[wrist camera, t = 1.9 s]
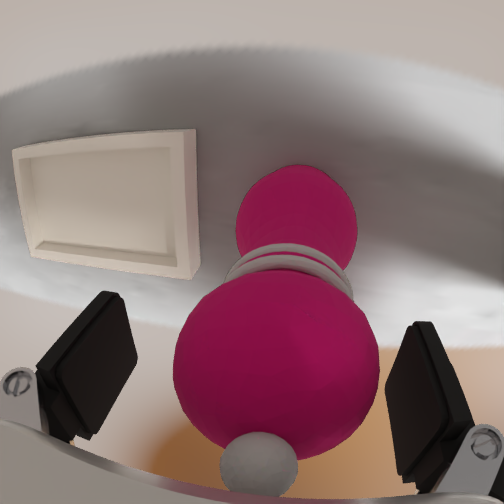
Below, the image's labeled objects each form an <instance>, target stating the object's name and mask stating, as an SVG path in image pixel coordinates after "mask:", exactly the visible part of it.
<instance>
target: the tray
mask: <svg viewBox="0 0 504 504" xmlns="http://www.w3.org/2000/svg"><path fill="white" fill-rule="evenodd" d="M12 159H13V167H14V175H15V182H16V188H17V194H18V200H19V206H20V211H21V216H22V221H23V226H24V230H25V235H26V239H27V243H28V247H29V251H30V255H31V257H35V258H41V259H47V260H53V261H59V262H65V263H72V264H78V265H85V266H91V267H98V268H105V269H111V270H118V271H125V272H132V273H140V274H147V275H155V276H162V277H170V278H178V279H186V280H191V279H192V278H193V276H194V275H195V273H196V272H197V270H198V269H199V267H200V266H201V260H200V242H199V221H198V194H197V155H196V129H176V130H153V131H137V132H124V133H112V134H102V135H93V136H84V137H76V138H68V139H61V140H54V141H48V142H42V143H36V144H30V145H26V146H23V147H19V148H16V149H13V150H12Z"/></svg>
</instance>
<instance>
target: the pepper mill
mask: <svg viewBox="0 0 504 504" xmlns="http://www.w3.org/2000/svg"><path fill="white" fill-rule="evenodd" d="M236 239H237V245H238V249H239V252H240V254H241V257H242V258H240V259H239V260H238V261H237V262H236V263H235V264H234V265H233V267H232V268H231V269H230V271H229V272H228V274H227V276H226V278H225V281H224V283H223V284H222V285H221V286H219V287H218V288H216V289H215V290H213V291H212V292H210V293H209V294H207V295H206V296H204V297H203V298H202V299H201V301H200V302H199V303H198V304H197V306H196V307H195V308H194V309H193V311H192V312H191V313H190V314H189V316H188V318H187V320H186V322H185V324H184V326H183V328H182V330H181V332H180V334H179V337H178V340H177V343H176V348H175V354H174V362H173V381H174V388H175V390H176V393H177V396H178V399H179V401H180V404H181V407H182V409H183V411H184V413H185V414H186V416H187V417H188V418H189V420H190V421H191V423H192V424H193V425H194V426H195V427H196V428H197V429H198V430H199V431H200V432H201V433H202V434H203V435H204V436H206V437H207V438H208V439H209V440H210V441H212V442H213V443H215V444H217V445H219V446H221V447H222V448H224V449H225V451H224V452H223V454H222V456H221V459H220V473H221V477H222V480H223V481H224V484H225V486H226V487H227V488H228V489H229V490H230V491H233V492H240V493H247V494H255V495H264V496H274V497H279V496H280V495H282V494H284V493H285V492H286V491H287V490H288V489H289V487H290V486H291V485H292V484H293V483H294V481H295V479H296V476H297V473H298V463H297V460H302V459H307V458H310V457H313V456H316V455H319V454H322V453H324V452H326V451H328V450H330V449H332V448H334V447H336V446H337V445H338V444H340V443H341V442H343V441H344V440H346V439H347V438H349V437H350V436H351V435H352V434H353V433H354V431H355V430H356V429H357V428H358V427H359V426H360V425H361V424H362V422H363V421H364V419H365V417H366V415H367V414H368V412H369V410H370V408H371V406H372V404H373V402H374V399H375V396H376V392H377V389H378V381H379V373H380V367H379V351H378V345H377V342H376V339H375V336H374V334H373V331H372V329H371V327H370V325H369V322H368V320H367V318H366V316H365V314H364V313H363V311H362V310H361V309H360V308H359V307H358V306H357V305H356V304H355V303H354V301H353V293H352V289H351V285H350V283H349V281H348V279H347V277H346V275H345V274H344V272H343V270H344V269H345V268H346V267H347V265H348V263H349V261H350V260H351V257H352V255H353V252H354V249H355V245H356V241H357V222H356V215H355V211H354V208H353V205H352V203H351V201H350V199H349V197H348V196H347V194H346V193H345V191H344V190H343V189H342V188H341V187H340V186H339V185H338V184H337V183H336V182H335V181H334V180H332V179H331V178H330V177H329V176H328V175H327V174H325V173H324V172H322V171H320V170H318V169H316V168H314V167H311V166H306V165H291V166H287V167H284V168H281V169H279V170H277V171H275V172H273V173H271V174H269V175H267V176H265V177H264V178H262V179H260V180H259V181H258V182H257V183H256V184H255V185H254V186H252V188H251V189H250V190H249V191H248V193H247V194H246V196H245V198H244V200H243V202H242V204H241V206H240V209H239V212H238V215H237V220H236Z"/></svg>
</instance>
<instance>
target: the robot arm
mask: <svg viewBox="0 0 504 504" xmlns="http://www.w3.org/2000/svg"><path fill="white" fill-rule="evenodd" d="M137 359H138V356H137V352H136V348H135V344H134V340H133V337H132V333H131V329H130V324H129V320H128V316H127V312H126V307H125V303H124V300H123V298H120V295H119V294H118V293H115V292H109V291H101V292H100V293H99V294H98V295H97V296H96V297H95V298H94V300H93V301H92V302H91V303H90V304H89V305H88V306H87V307H86V308H85V309H84V310H83V312H82V313H81V314H80V315H79V316H78V317H77V318H76V319H75V320H74V322H73V323H72V324H71V325H70V326H69V327H68V328H67V330H66V331H65V332H64V333H63V334H62V335H61V336H60V337H59V339H58V340H57V341H56V342H55V343H54V345H53V346H52V347H51V348H50V349H49V350H48V352H47V353H46V354H45V355H44V356H43V358H42V359H41V360H40V361H39V362H38V363H37V365H36V367H37V371H36V372H35V373H34V372H33V371H32V370H31V369H29V368H24V367H20V368H16V369H13V370H11V371H9V372H8V373H6V374H5V376H4V377H3V378H2V380H1V382H0V504H504V437H503V435H502V434H501V432H500V431H499V430H498V429H496V428H495V427H493V426H491V425H488V424H479V425H476V426H475V424H474V421H473V418H472V415H471V412H470V409H469V406H468V404H467V401H466V398H465V396H464V393H463V390H462V388H461V386H460V383H459V380H458V378H457V376H456V373H455V370H454V368H453V366H452V364H451V363H450V361H449V359H448V356H447V354H446V352H445V349H444V347H443V345H442V343H441V340H440V338H439V336H438V334H437V332H436V329H435V327H434V325H433V323H432V322H425V321H415V322H414V323H413V325H412V326H408V327H407V330H406V333H405V335H404V338H403V341H402V343H401V346H400V349H399V351H398V354H397V357H396V359H395V362H394V364H393V367H392V369H391V372H390V374H389V376H388V379H387V381H386V384H385V396H386V401H387V407H388V413H389V419H390V424H391V431H392V438H393V444H394V451H395V459H396V467H397V473H398V475H400V476H401V475H402V480H403V483H411V482H415V484H416V489H417V491H416V492H415V493H414V495H406V496H396V497H384V498H365V499H301V498H286V497H274V496H264V495H255V494H247V493H240V492H233V491H227V490H221V489H215V488H210V487H205V486H199V485H195V484H191V483H186V482H181V481H178V480H174V479H170V478H166V477H162V476H158V475H155V474H151V473H148V472H145V471H141V470H138V469H135V468H131V467H129V466H126V465H122V464H119V463H117V462H114V461H111V460H108V459H106V458H103V457H100V456H97V455H95V454H93V453H90V452H88V451H85V450H83V449H80V448H77V447H75V444H74V440H73V439H74V437H75V435H77V436H79V437H82V438H84V439H87V440H90V439H91V437H92V435H93V434H97V433H98V431H99V430H100V428H101V426H102V424H103V422H104V420H105V419H106V417H107V415H108V413H109V412H110V410H111V408H112V406H113V404H114V403H115V401H116V399H117V397H118V396H119V394H120V392H121V390H122V388H123V386H124V385H125V383H126V381H127V380H128V378H129V376H130V375H131V373H132V371H133V369H134V368H135V366H136V364H137Z"/></svg>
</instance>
